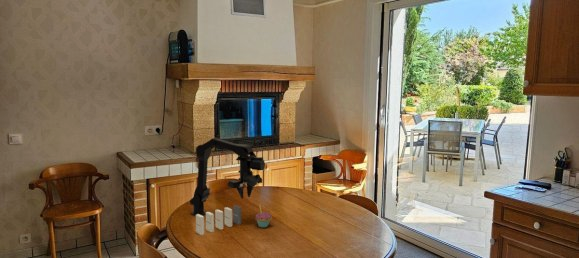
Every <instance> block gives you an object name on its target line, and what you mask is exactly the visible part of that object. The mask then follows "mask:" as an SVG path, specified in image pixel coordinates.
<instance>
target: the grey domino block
mask: <svg viewBox="0 0 579 258" xmlns="http://www.w3.org/2000/svg"><path fill="white" fill-rule="evenodd" d="M232 223H233V224H237V225H238V226H239V225H242V207H241V206H239V205H237V204H235V205H233V206H232Z"/></svg>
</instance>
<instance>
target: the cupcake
mask: <svg viewBox="0 0 579 258" xmlns="http://www.w3.org/2000/svg"><path fill="white" fill-rule="evenodd" d="M258 205H259V210H260V212H258V213H257V214H256V215H254V220H255V221H256V222H257V225H258V227H259V228H268V227H269V224H270V221H272V219H273V217H272V214H270V213H269V212H267V211H262V205H261V204H258Z"/></svg>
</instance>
